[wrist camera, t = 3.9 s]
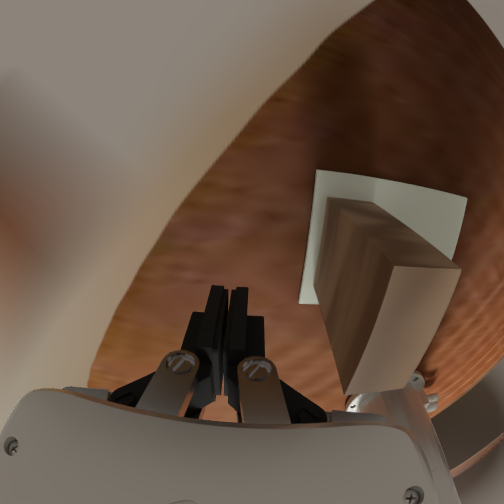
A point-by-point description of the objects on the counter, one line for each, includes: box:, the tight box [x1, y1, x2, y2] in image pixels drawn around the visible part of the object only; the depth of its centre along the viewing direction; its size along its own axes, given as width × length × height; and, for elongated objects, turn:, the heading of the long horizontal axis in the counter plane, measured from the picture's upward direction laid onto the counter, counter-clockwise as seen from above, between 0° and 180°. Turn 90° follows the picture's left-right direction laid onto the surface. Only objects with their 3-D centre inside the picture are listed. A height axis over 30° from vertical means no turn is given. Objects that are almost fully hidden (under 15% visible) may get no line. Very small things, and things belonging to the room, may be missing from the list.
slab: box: [313, 197, 462, 395], centre depth 16 cm, size 4×8×12 cm, turn 177°
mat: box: [298, 169, 467, 304], centre depth 22 cm, size 16×12×1 cm
